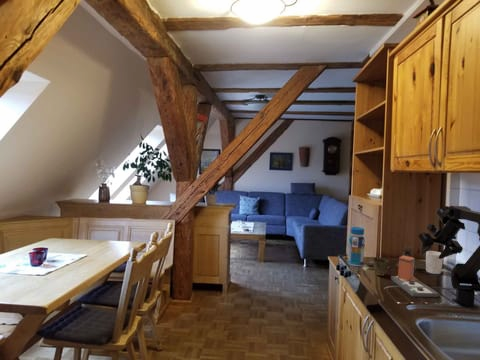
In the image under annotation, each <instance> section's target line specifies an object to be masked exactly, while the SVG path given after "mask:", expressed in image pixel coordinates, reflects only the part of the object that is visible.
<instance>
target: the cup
mask: <svg viewBox="0 0 480 360" xmlns="http://www.w3.org/2000/svg"><path fill="white" fill-rule="evenodd" d="M372 263H373V264H372V265H373V269H374V271H375V273H376V276H379V277H384V276H385V274H386V273H387V271H388V269H389V264H390V260H389V259H387V258H384V257H379V258H377V257H373V258H372Z"/></svg>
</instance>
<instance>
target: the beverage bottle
mask: <svg viewBox="0 0 480 360" xmlns="http://www.w3.org/2000/svg"><path fill="white" fill-rule="evenodd" d="M364 234H365V228H363V227H359V226H351V228H350V236H349V238H348V241H349V242H348V252H347V253H348V255H347V264H348V265H350V266H353V267H362V266H364V258H365V249H366V248H365V247H366V245H365V242H366V240H365V238H364Z"/></svg>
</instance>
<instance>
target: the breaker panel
mask: <svg viewBox="0 0 480 360" xmlns="http://www.w3.org/2000/svg"><path fill="white" fill-rule="evenodd" d="M390 280H391V281H393V282H394V283H395V284H397V285H398V286H399V287H400V288H401V289H403V291H405V292H407V294H409V295H410V296H412V297H416V298H417V297H419V298H420V297H421V298H424V297H425V298H429V297H430V298H439V295H440V294H439V292H437V291H435V289H433V288H431V287H429V286H428V285H426V283H424V282H422V281H421V280H419V279H418V278H416V277H415V276H413V279H412V280H410V281H407V280H404V279H400V278H398V275H391V276H390Z"/></svg>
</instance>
